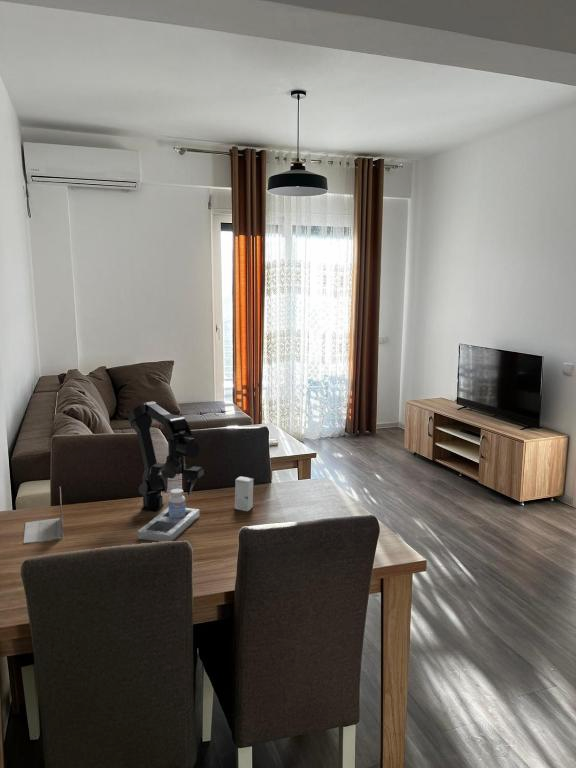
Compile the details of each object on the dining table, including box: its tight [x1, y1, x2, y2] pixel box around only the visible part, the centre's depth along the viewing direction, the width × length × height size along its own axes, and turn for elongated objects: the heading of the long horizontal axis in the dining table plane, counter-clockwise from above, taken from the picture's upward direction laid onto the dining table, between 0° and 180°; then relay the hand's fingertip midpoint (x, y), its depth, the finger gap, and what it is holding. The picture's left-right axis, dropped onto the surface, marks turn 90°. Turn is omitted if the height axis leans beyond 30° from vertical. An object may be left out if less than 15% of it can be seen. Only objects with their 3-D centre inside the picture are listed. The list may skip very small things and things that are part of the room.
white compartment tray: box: [137, 506, 200, 543], centre depth 207 cm, size 12×24×3 cm, turn 165°
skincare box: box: [234, 476, 254, 512], centre depth 225 cm, size 6×4×12 cm
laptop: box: [22, 486, 64, 545], centre depth 202 cm, size 18×12×13 cm
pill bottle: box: [168, 488, 186, 519], centre depth 212 cm, size 6×6×11 cm
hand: (177, 493), depth 211 cm, fingers open, 9 cm apart
